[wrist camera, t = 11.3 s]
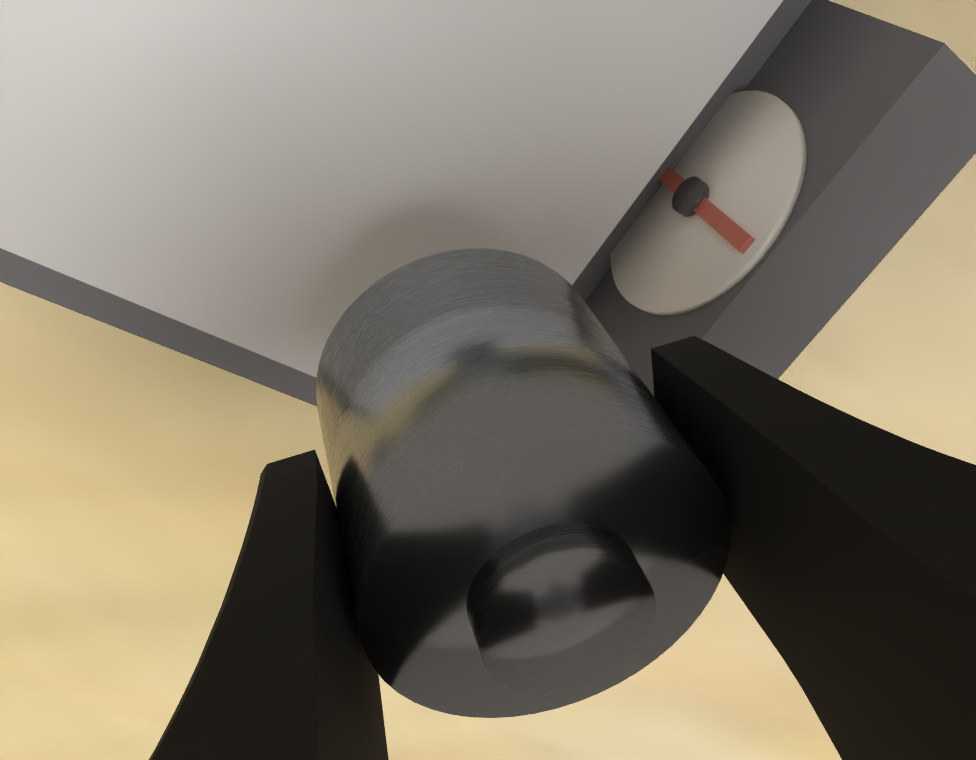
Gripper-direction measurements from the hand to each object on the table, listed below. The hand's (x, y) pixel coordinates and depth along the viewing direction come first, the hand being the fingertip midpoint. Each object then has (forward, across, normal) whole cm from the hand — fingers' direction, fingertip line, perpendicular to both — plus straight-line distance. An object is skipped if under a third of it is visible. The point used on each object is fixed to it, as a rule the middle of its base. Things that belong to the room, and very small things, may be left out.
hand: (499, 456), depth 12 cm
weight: (+2, 0, 0) cm, 2 cm away
